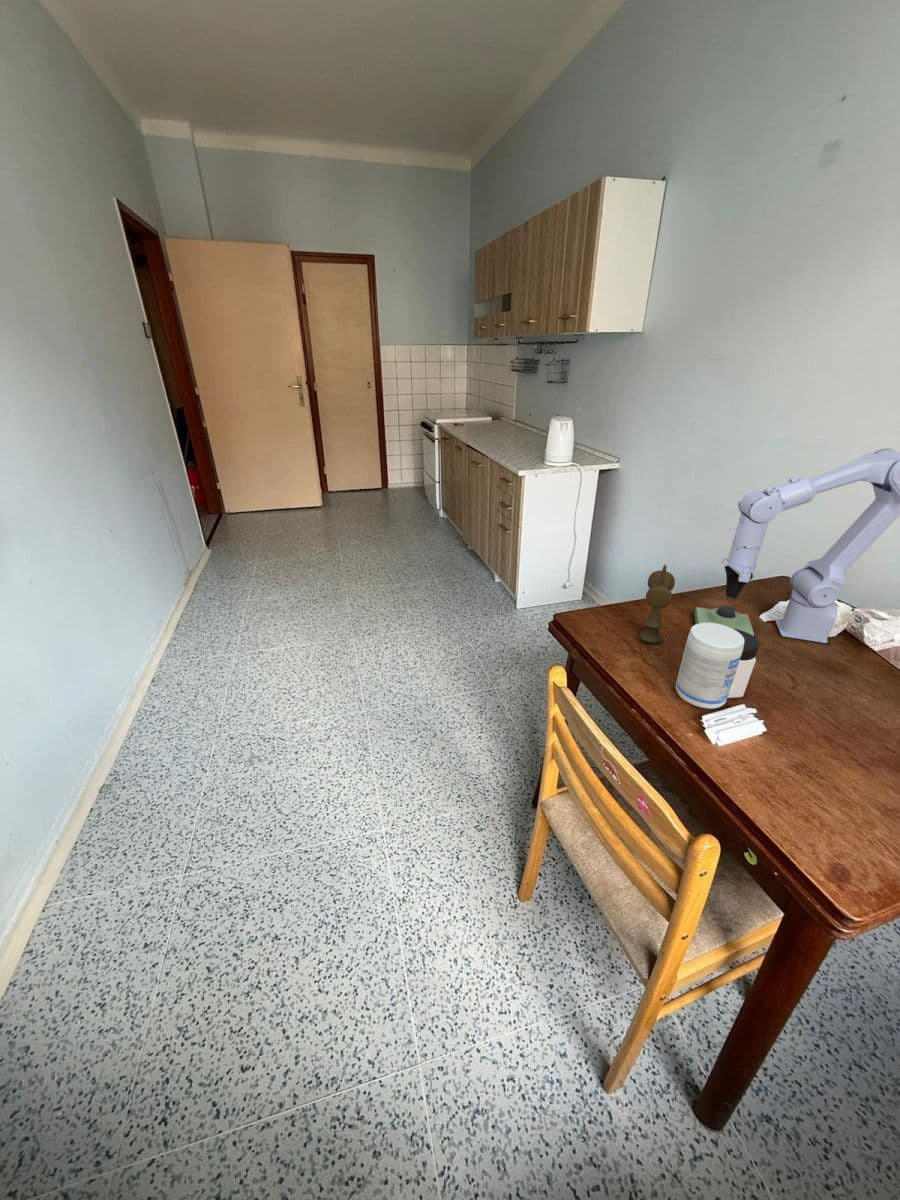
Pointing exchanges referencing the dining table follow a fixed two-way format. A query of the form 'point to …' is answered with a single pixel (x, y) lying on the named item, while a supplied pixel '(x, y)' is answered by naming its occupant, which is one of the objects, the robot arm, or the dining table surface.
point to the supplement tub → (709, 664)
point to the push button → (726, 611)
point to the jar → (744, 665)
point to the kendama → (657, 603)
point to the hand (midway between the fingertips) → (730, 596)
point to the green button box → (724, 619)
